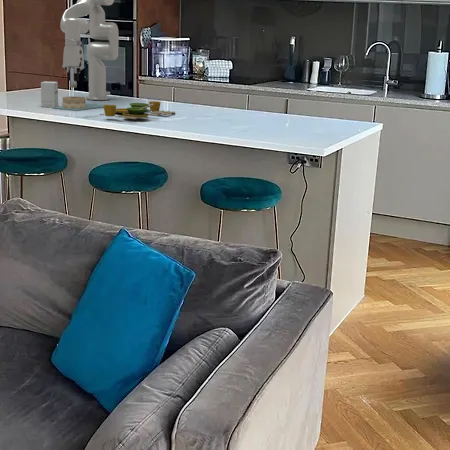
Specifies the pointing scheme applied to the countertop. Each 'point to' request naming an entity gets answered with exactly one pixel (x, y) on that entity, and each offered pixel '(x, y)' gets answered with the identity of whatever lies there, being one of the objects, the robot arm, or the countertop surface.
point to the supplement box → (49, 94)
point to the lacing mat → (88, 106)
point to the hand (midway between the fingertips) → (73, 80)
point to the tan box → (74, 102)
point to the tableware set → (135, 110)
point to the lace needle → (72, 78)
